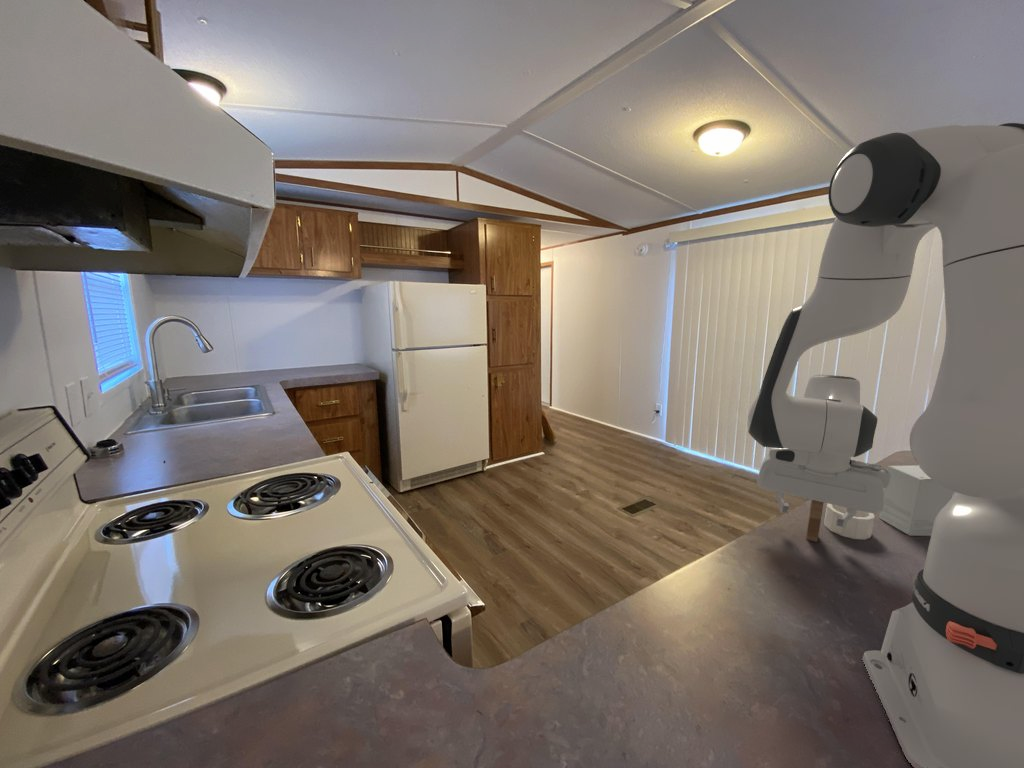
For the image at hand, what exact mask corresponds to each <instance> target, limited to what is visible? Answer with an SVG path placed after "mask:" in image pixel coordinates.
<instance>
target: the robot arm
mask: <svg viewBox="0 0 1024 768" xmlns="http://www.w3.org/2000/svg"><path fill="white" fill-rule="evenodd" d="M828 202H829V204H828V205H829V206H830V209H831V212H832V213H833V215H834V217H835V219H834V221H833V223H832V226H831V228H830V230H829V233H828V236H827V239H826V241H825V245H824V249H823V252H822V254H821V255H822V256H821V259H820V260H821V261H820V265H819V268H818V269H819V270H818V275H817V280H816V284H815V287H814V289H813V291H812V293H811V295H810V296H809V297H808V299H807V300H806V301H805V302H804V303H803V304H802V305H801V306H798V307H796V308H793V309H792V310H791V311H790V312H789V314H788V315H787V316H786V319H785V321H784V323H783V325H782V328H781V331H780V334H779V336H778V337H777V338H778V339H777V340H776V343H775V345H774V348H773V351H772V354H771V356H770V360H769V363H768V366H767V368H766V371H765V374H764V377H763V380H762V384H761V386H760V389H759V392H758V394H757V396H756V397H755V400H754V401H753V403H752V404H751V406H750V409H749V412H748V416H747V419H746V420H747V421H746V423H747V430H748V432H747V433H748V434H749V435H750V436H751V437H752V438H753V439H754V441H755V442H757V443H758V444H759V445H761V446H762V447H763V448H768V453H767V454H765V456H764V458H763V460H762V462H761V466H760V469H759V471H758V472H759V473H758V476H757V481H756V484H757V485H758V487H759V488H760V489H763V490H767V491H772V492H775V498H776V499H777V502H778V504H779V505H780V506H779V512H780V513H784V514H788V513H789V507H790V503H788V502H786V501H785V500H784V496H785V494H786V495H789V496H794V497H798V498H802V499H806V500H815V501H819V502H824V503H823V504H827V503H828V504H833V505H837V506H842V507H846V510H847V512H846V513H845V514H843V515H842V516H841V515H837V519H836V526H839V527H843V528H846V524H847V521H848V520H850V519H851V518H852V517H854V516H855V515H856V512H857V510H859V511H864V512H868V513H873V514H874V515H877V514H880V512H881V511H883V506H884V489H885V488H886V487H887V486H888V485H889V482H890V477H891V476H890V473H889V472H888V469H886V468H884V467H883V466H882V465H880V464H877V463H868V462H864V461H861V460H860V461H859V460H854V459H852V458H856V457H859V456H862V455H863V454H865V453H867V452H868V451H870V450H871V449H872V448H873V446H874V445H873V443H874V437H875V433H876V430H877V426H878V425H877V424H878V417H877V416H876V415H875V414H874V413H873V412H872V411H871V410H870V409H868V408H867V407H865V406H864V405H863V404H862V405H861V402H860V401H861V382H860V381H859V379H856V378H855V377H852V376H844V375H835V374H834V375H832V374H815V375H812V376H810V378H808V382H807V385H806V388H805V391H804V393H803V397H801V396H794V395H793V396H791V395H789V394H787V391H788V388H789V386H790V383H791V380H792V377H793V374H794V372H795V370H796V367H797V365H798V362H799V359H800V357H802V355H803V354H804V353H805V352H807V351H808V350H809V349H812V348H813V347H815V346H817V345H820V344H824V343H827V342H830V341H833V340H838V339H841V338H846V337H849V336H855V335H858V334H861V333H864V332H867V331H869V330H873V329H875V328H876V327H878V326H881V325H882V324H883V323H885V322H887V321H888V320H890V319H892V318H893V316H895V315H896V314H897V313H898V312H899V311H900V310H901V307H902V305H903V303H904V301H905V298H906V296H907V293H908V289H909V286H910V282H911V279H912V278H911V277H912V274H913V269H914V264H915V258H916V253H917V249H918V247H919V244H920V242H921V240H922V239H923V237H925V236H926V234H928V233H929V232H930V231H932V230H934V229H935V228H937V229H938V230H939V233H940V235H941V236H940V237H941V242H942V243H941V244H942V247H941V248H942V251H941V252H942V271H943V289H944V305H945V307H944V308H945V328H946V329H945V330H946V332H945V342H944V347H943V352H942V356H941V361H940V366H939V369H938V373H937V376H936V380H935V385H934V388H933V391H932V394H931V397H930V401H929V403H928V405H927V407H926V408H925V409H924V411H923V413H921V415H920V416H919V417H918V418H917V419H916V421H915V422H914V424H913V426H912V427H911V430H910V433H909V449H910V452H911V455H912V457H913V459H914V461H915V462H916V465H917V466H919V467H920V468H921V469H922V471H923V472H924V473H925V474H926V475H927V476H929V477H930V478H931V479H932V480H934V481H935V482H936V483H938V484H940V485H941V486H943V487H945V488H947V489H949V490H952V491H953V493H954V495H952V498H951V500H950V501H949V502H948V503H947V505H946V506H945V507H943V508H942V509H941V511H940V512H939V513H938V515H937V516H936V518H935V521H934V525H933V530H932V534H931V536H930V540H929V544H928V548H927V553H926V556H925V557H926V558H925V562H924V566H923V569H921V570H919V572H918V573H917V576H916V579H915V580H914V582H913V586H912V590H913V591H912V596H911V600H912V601H911V602H910V603H908V604H907V605H905V606H903V607H900V608H896V609H895V610H892V612H891V615H890V618H889V622H888V626H887V628H886V632H885V635H884V639H883V641H882V646H881V649H880V650H866V651H864V653H863V654H862V655H863V656H861V657H862V658H861V661H862V660H863V661H862V663H863V662H864V663H863V665H864V664H865V666H864V668H865V667H866V668H865V670H866V669H867V670H866V672H867V671H868V673H867V675H868V674H869V675H868V677H869V676H870V677H869V679H870V681H871V680H872V682H871V683H873V684H874V686H873V688H874V687H875V689H876V691H875V693H876V692H877V693H878V695H879V698H880V699H881V702H882V703H883V706H884V708H885V710H886V712H887V713H888V715H889V717H890V719H891V721H892V723H893V724H894V727H895V729H896V731H897V734H898V736H899V738H900V741H901V743H902V745H903V748H904V750H905V752H906V753H907V755H908V756H909V758H911V759H912V760H913V761H915V762H916V763H917V764H919V765H920V766H921V767H924V768H927V767H928V768H1024V123H1020V122H1019V123H1018V122H1017V123H1016V122H1007V123H1002V124H999V125H994V124H993V125H991V124H990V125H989V124H988V125H987V124H985V125H983V124H980V125H979V124H978V125H974V124H973V125H961V124H960V125H958V124H953V125H951V124H950V125H943V126H936V127H935V126H934V127H929V128H922V129H919V130H918V129H917V130H913V131H909V132H908V131H907V132H890V133H887V134H883V135H879V136H876V137H873V138H870V139H868V140H865V141H863V142H861V143H858V144H857V145H856V146H854V147H853V148H851V149H850V150H849V151H848V152H847V153H846V154H845V155H844V156H843V158H842V159H841V160H840V162H839V163H838V165H837V167H836V168H835V170H834V172H833V174H832V177H831V179H830V182H829V187H828ZM873 684H872V685H873ZM875 689H874V690H875ZM877 693H876V694H877ZM878 695H877V696H878ZM879 698H878V699H879ZM881 702H880V703H881ZM901 720H902V721H904V722H902V721H901Z"/></svg>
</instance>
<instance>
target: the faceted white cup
mask: <svg viewBox="0 0 1024 768" xmlns="http://www.w3.org/2000/svg"><path fill="white" fill-rule="evenodd" d="M846 512H847V510H846V507H842V506H837V505H833V504H828V503H826V509H825V516H824V520H823V523H824V524H823V525H824V527H826V528H827V529H828V530H829V531H831V532H832V533H834V534H837V535H839V536H841V537H845V538H850V539H852V540H867V539H870V538H871V537H872V532H873V528H874V522H875V514H873V513H868V512H864V511H859V510H857V512H856V515H855V516H854V517H852V518H851V519H850V520H848V521H847V524H846V528H843V527H839V526H836V519H837V515H841V516H842V515H843V514H845V513H846Z"/></svg>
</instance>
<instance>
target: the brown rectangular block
mask: <svg viewBox="0 0 1024 768" xmlns="http://www.w3.org/2000/svg"><path fill="white" fill-rule="evenodd" d="M810 500H811V499H810ZM824 504H825V503H824V502H819V501H815V500H811V501H810V507H809V514H808V515H809V516H808V521H807V527H806V538H805V539H806V540H807V541H812V542H814V543H815V542H816V543H818V538H819V535H820V528H821V521H822V515H823V508H824Z"/></svg>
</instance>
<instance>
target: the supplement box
mask: <svg viewBox="0 0 1024 768" xmlns="http://www.w3.org/2000/svg"><path fill="white" fill-rule="evenodd" d="M887 467H888V468H887V470H888V472H889V473H890V476H891V477H890V482H889V485H888V486H887V487H886V488H884V506H883V511H881V512H880V513H879V519H880V520H882V521H884V522H886V523H887V524H888V525H890V526H893V527H894V528H895V529H897V530H899V531H900V532H902V533H904V534H906V535H908V536H912V537H913V536H914V537H915V536H916V537H917V536H919V537H921V536H922V537H931V534H932V530H933V525H934V521H935V518H936V516H937V515H938V513H939V512H940V511H941V509H942V508H943V507H945V506H946V505H947V503H948V502H949V501H950V500H951V498H952V497H953V493H954V491H952V490H949V489H947V488H945V487H943V486H941V485H940V484H938V483H936V482H935V481H934V480H932V479H931V478H930V477H929V476H927V475H926V474H925V473H924V472H923V471H922V469H921V468H920V467H919V466H918V465H888V466H887Z"/></svg>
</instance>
